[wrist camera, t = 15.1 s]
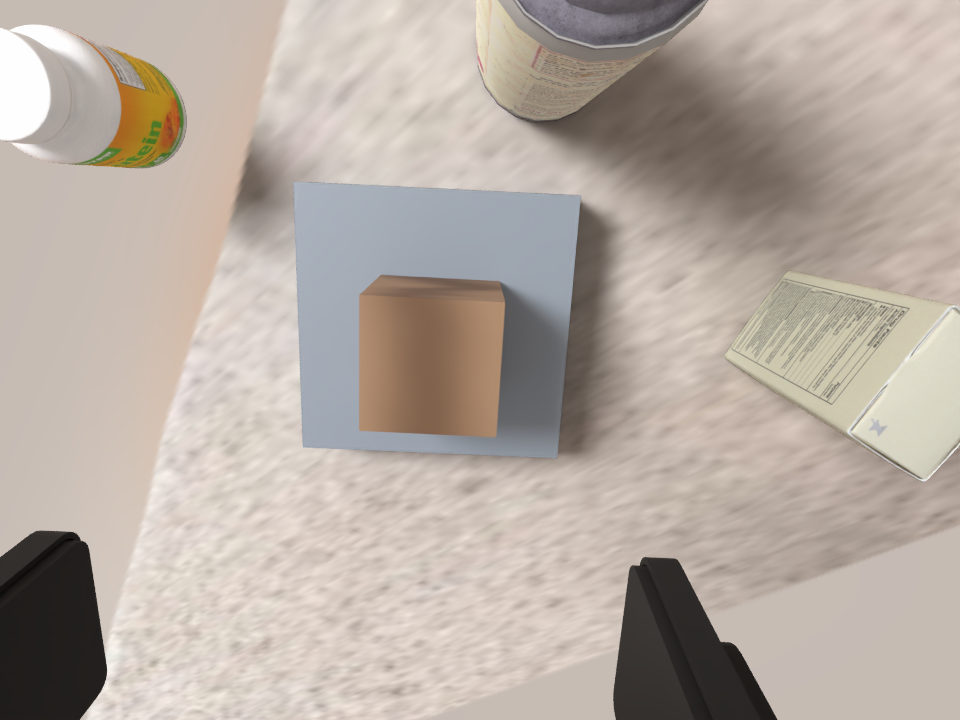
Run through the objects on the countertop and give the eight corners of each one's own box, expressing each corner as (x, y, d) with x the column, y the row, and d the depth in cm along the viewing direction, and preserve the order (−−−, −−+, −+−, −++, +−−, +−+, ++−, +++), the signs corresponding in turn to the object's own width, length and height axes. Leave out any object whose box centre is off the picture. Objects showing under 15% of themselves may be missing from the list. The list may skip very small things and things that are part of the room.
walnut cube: (499, 281, 31) (505, 302, 25) (492, 392, 32) (496, 437, 27) (380, 274, 31) (359, 294, 25) (379, 387, 32) (359, 431, 26)
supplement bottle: (142, 190, 33) (8, 191, 23) (64, 108, 32) (-110, 75, 22) (211, 122, 32) (100, 94, 22) (133, 34, 31) (-18, -32, 21)
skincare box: (776, 393, 36) (921, 493, 24) (719, 356, 35) (839, 440, 24) (849, 303, 35) (1041, 363, 23) (791, 262, 34) (957, 302, 22)
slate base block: (569, 194, 33) (580, 196, 30) (549, 430, 37) (557, 458, 33) (314, 182, 33) (293, 181, 29) (321, 420, 37) (302, 447, 33)
